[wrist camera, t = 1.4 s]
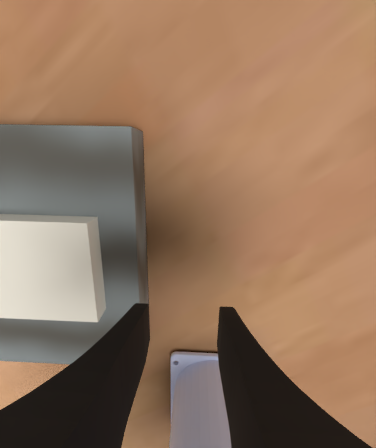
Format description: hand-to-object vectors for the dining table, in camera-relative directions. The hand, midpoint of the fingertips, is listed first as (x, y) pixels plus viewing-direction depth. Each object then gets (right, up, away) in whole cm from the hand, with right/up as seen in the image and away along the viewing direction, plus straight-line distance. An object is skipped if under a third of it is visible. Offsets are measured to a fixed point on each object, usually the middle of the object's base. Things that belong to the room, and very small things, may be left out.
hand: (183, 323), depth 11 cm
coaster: (-9, +2, +5) cm, 11 cm away
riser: (-9, +3, +8) cm, 13 cm away
